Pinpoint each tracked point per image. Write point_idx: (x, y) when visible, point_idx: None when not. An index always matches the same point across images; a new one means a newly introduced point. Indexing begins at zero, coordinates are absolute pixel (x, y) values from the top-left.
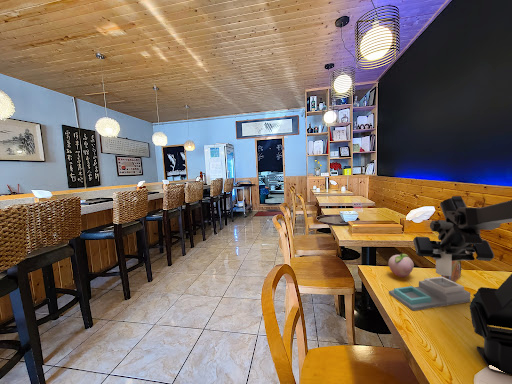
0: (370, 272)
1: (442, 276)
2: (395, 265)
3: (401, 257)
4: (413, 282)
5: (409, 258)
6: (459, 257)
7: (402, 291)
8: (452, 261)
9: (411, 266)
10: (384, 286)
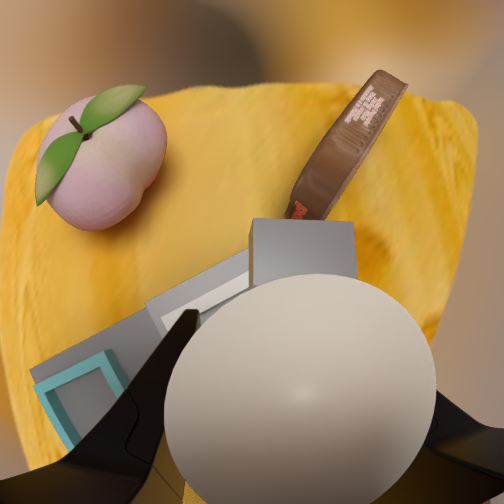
0: (24, 181)
1: (289, 218)
2: (49, 203)
3: (63, 158)
4: (156, 234)
5: (129, 129)
6: (372, 502)
7: (67, 382)
8: (373, 143)
9: (131, 189)
10: (32, 307)
